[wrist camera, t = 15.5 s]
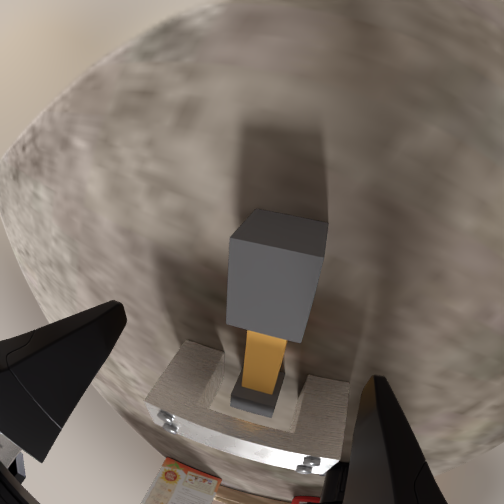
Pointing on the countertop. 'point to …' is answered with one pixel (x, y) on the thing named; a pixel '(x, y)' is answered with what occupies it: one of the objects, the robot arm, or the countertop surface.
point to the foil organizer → (242, 497)
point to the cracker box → (181, 485)
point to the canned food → (305, 499)
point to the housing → (242, 432)
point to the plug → (271, 297)
